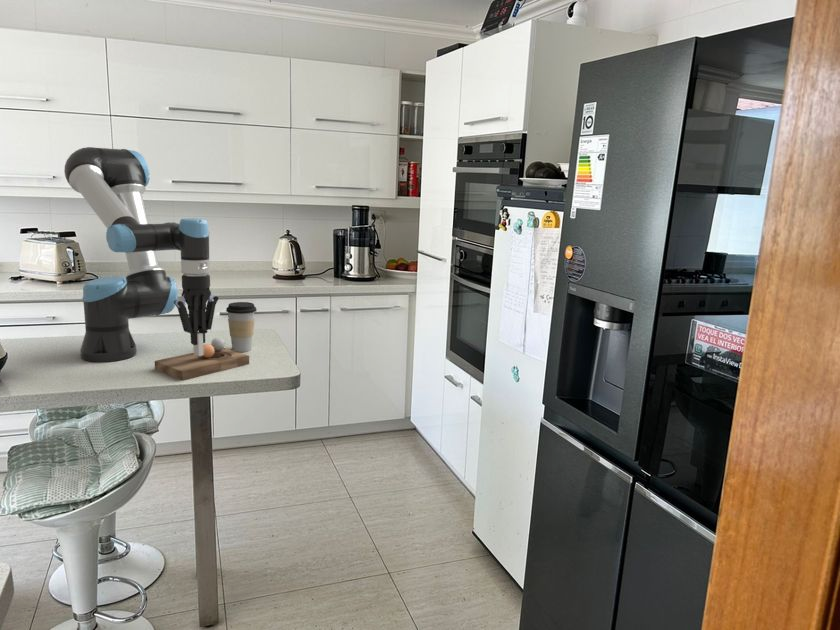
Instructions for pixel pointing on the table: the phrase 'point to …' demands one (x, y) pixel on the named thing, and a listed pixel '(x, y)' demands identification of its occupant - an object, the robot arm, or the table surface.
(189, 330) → the robot arm
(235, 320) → the coffee cup
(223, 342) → the grey ball
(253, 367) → the table surface
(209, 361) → the brown wooden board
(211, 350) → the ball
